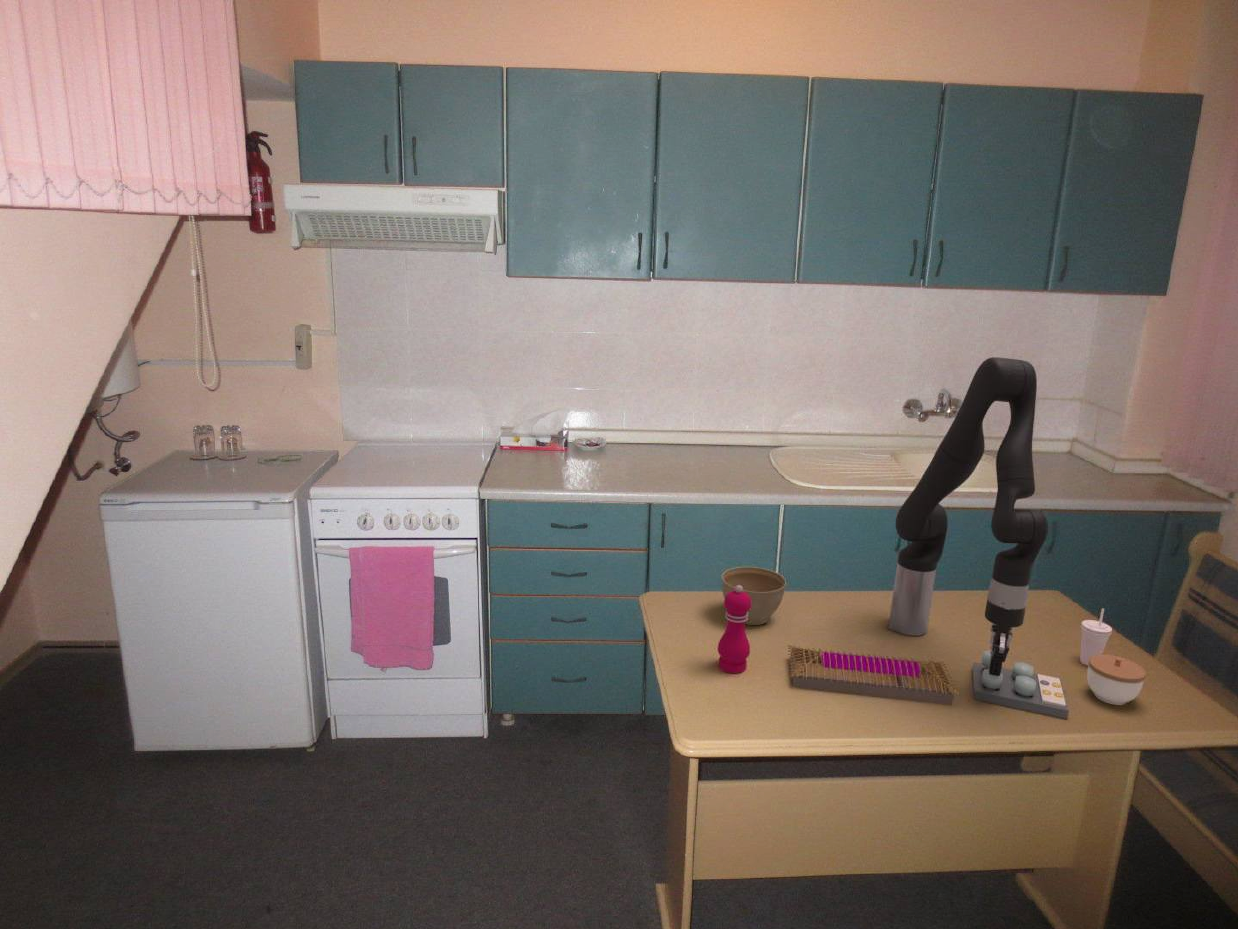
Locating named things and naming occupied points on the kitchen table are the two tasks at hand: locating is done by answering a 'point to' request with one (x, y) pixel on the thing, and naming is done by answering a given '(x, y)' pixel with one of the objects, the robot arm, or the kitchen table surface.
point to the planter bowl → (756, 590)
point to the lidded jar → (1114, 678)
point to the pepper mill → (735, 632)
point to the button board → (1043, 701)
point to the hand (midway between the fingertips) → (994, 674)
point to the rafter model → (874, 666)
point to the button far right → (1022, 670)
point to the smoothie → (1093, 638)
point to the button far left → (986, 659)
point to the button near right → (1025, 686)
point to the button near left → (991, 680)
